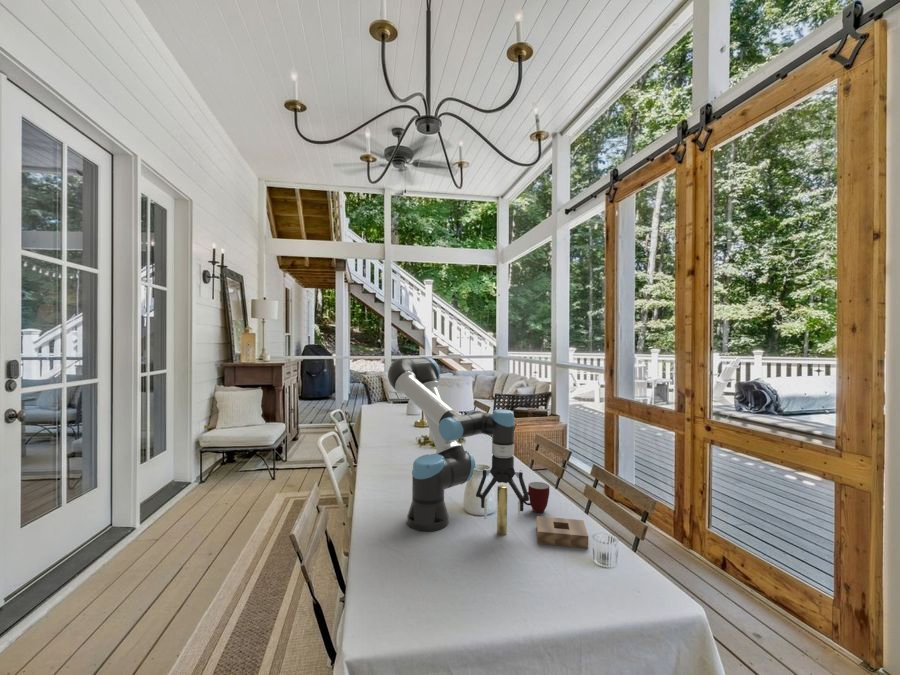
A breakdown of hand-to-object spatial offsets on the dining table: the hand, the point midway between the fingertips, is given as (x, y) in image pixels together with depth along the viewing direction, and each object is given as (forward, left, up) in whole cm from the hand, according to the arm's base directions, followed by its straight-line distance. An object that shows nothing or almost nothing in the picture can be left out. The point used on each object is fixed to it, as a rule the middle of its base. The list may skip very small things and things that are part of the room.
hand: (502, 518), depth 145 cm
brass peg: (0, 0, -5) cm, 5 cm away
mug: (+12, +21, -5) cm, 25 cm away
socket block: (+20, +1, -5) cm, 21 cm away
